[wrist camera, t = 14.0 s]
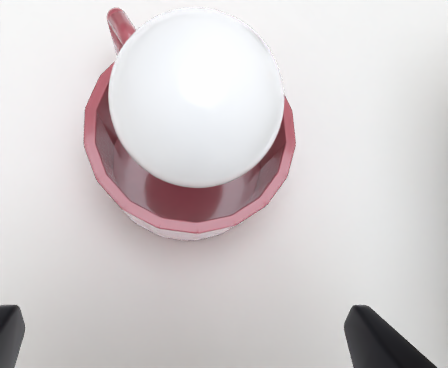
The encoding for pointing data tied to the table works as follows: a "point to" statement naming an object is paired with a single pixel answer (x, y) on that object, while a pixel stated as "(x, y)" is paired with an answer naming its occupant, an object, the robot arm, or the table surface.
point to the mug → (168, 193)
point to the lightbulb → (196, 97)
